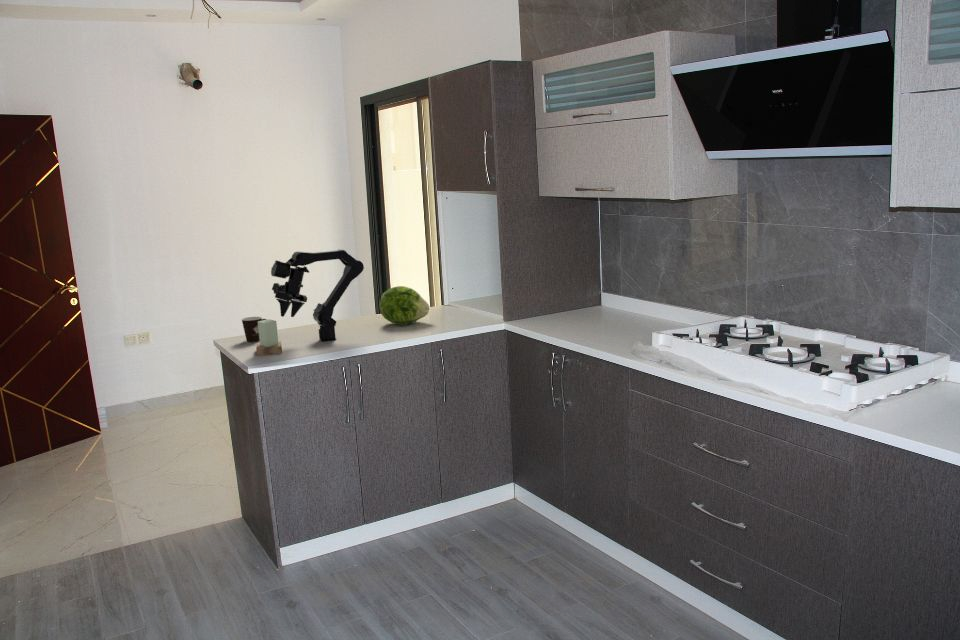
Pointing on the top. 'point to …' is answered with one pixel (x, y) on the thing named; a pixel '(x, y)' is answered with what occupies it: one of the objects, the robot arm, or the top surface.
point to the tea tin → (268, 333)
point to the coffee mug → (251, 328)
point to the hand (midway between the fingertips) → (287, 316)
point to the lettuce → (403, 305)
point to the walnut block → (268, 349)
